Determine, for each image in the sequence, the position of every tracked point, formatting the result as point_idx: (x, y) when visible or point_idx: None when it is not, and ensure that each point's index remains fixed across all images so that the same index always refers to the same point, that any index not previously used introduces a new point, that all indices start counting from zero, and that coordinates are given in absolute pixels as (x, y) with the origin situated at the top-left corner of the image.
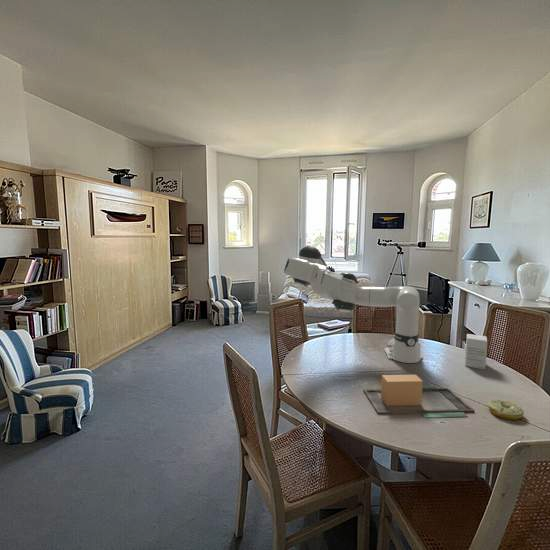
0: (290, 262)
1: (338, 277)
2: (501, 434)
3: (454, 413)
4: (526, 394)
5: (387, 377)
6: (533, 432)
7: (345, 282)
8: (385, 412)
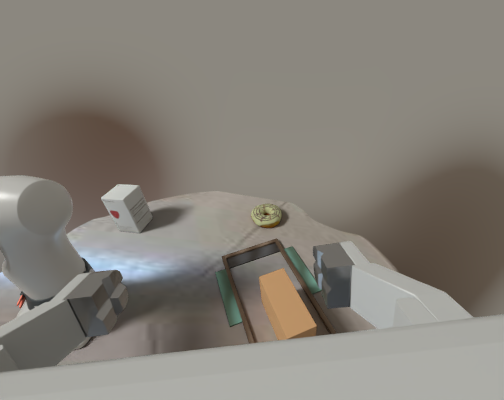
0: None
1: (484, 397)
2: (314, 227)
3: (292, 257)
4: (217, 200)
5: (294, 326)
6: (295, 208)
7: (417, 284)
8: None
